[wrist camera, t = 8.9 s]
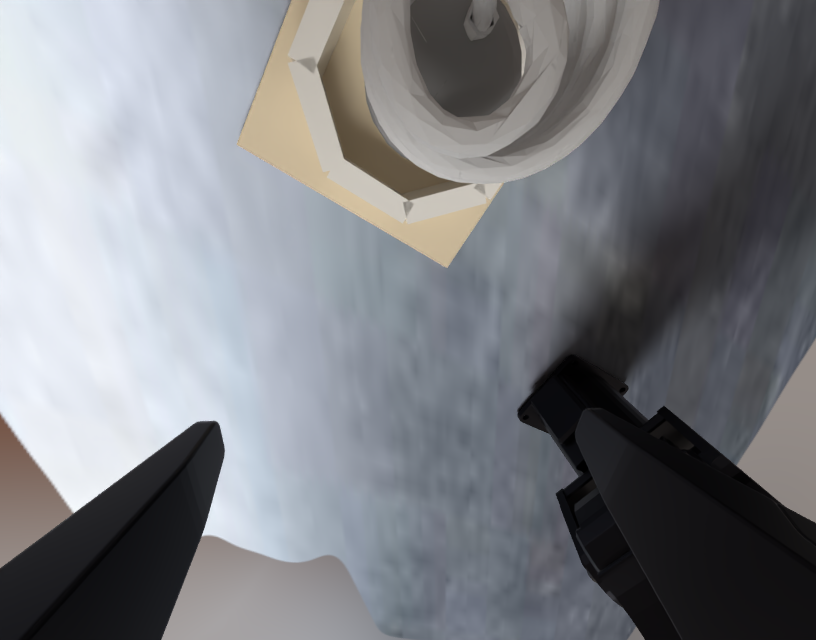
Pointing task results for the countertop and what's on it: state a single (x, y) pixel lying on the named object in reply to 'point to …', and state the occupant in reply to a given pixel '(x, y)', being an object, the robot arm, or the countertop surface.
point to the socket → (351, 134)
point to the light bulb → (496, 79)
